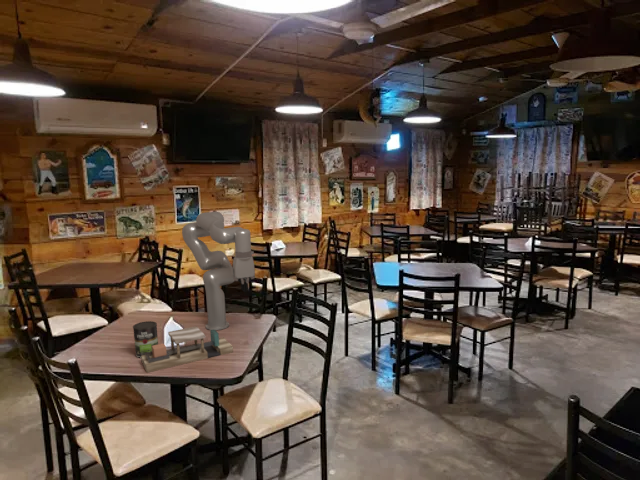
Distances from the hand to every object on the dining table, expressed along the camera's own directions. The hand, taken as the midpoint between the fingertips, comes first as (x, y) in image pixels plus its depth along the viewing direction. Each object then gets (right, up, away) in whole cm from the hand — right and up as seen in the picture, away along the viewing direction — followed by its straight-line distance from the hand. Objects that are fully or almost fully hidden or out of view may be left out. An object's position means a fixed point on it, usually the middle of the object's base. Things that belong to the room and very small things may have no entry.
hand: (244, 291), depth 222 cm
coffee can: (-43, -28, -12) cm, 53 cm away
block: (-33, -26, -23) cm, 49 cm away
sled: (-25, -25, -18) cm, 40 cm away
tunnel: (-23, -28, -17) cm, 40 cm away
